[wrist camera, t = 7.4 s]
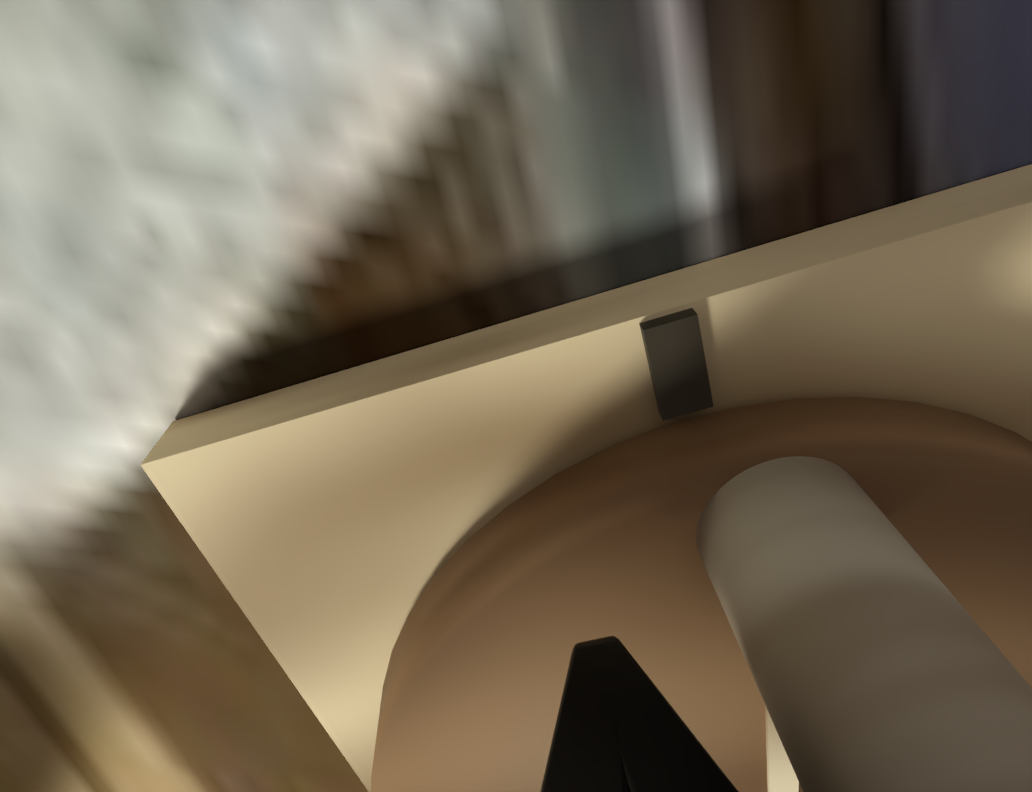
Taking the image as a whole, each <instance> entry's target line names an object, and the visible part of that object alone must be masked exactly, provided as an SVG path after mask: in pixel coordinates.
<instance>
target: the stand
mask: <svg viewBox="0 0 1032 792" xmlns="http://www.w3.org/2000/svg"><path fill="white" fill-rule="evenodd" d="M837 397H865V398H876V399H887V400H898V401H909V402H918V403H922V404H927V405H931V406H936V407H940V408H944V409H949V410H953V411H957V412H962V413H966V414H970V415H973V416H975V417H978V418H980V419H983V420H985V421H988V422H991V423H993V424H996V425H998V426H1001V427H1003V428H1006V429H1008V430H1011V431H1013V432H1016V433H1018V434H1019V435H1021V436H1023V437H1024V438H1026V439H1027V440H1029V441H1031V442H1032V164H1030V165H1027V166H1023V167H1020V168H1017V169H1013V170H1010V171H1007V172H1003V173H1000V174H997V175H993V176H990V177H986V178H983V179H980V180H976V181H973V182H970V183H966V184H963V185H960V186H956V187H953V188H950V189H946V190H943V191H940V192H936V193H933V194H930V195H926V196H923V197H920V198H916V199H913V200H910V201H906V202H903V203H900V204H896V205H893V206H890V207H886V208H883V209H880V210H876V211H873V212H870V213H866V214H863V215H860V216H856V217H853V218H850V219H846V220H843V221H840V222H836V223H833V224H830V225H826V226H823V227H820V228H816V229H813V230H810V231H806V232H803V233H800V234H796V235H793V236H790V237H786V238H783V239H780V240H776V241H773V242H770V243H766V244H763V245H760V246H756V247H753V248H750V249H746V250H743V251H740V252H736V253H733V254H730V255H726V256H723V257H720V258H716V259H713V260H710V261H706V262H703V263H700V264H696V265H693V266H690V267H686V268H683V269H680V270H676V271H673V272H670V273H666V274H663V275H660V276H656V277H653V278H650V279H646V280H643V281H640V282H636V283H633V284H630V285H626V286H623V287H620V288H616V289H613V290H610V291H606V292H603V293H600V294H596V295H593V296H590V297H586V298H583V299H580V300H576V301H573V302H570V303H566V304H563V305H560V306H556V307H553V308H550V309H546V310H543V311H540V312H536V313H533V314H530V315H526V316H523V317H520V318H516V319H513V320H510V321H506V322H503V323H500V324H496V325H493V326H490V327H486V328H483V329H480V330H476V331H473V332H470V333H466V334H463V335H460V336H456V337H453V338H450V339H446V340H443V341H440V342H436V343H433V344H430V345H426V346H423V347H420V348H416V349H413V350H410V351H406V352H403V353H400V354H396V355H393V356H390V357H386V358H383V359H380V360H376V361H373V362H370V363H366V364H363V365H360V366H356V367H353V368H350V369H346V370H343V371H340V372H336V373H333V374H329V375H326V376H323V377H319V378H316V379H313V380H309V381H306V382H303V383H299V384H296V385H293V386H289V387H286V388H283V389H279V390H276V391H273V392H269V393H266V394H263V395H259V396H256V397H253V398H249V399H246V400H243V401H239V402H236V403H233V404H229V405H226V406H223V407H219V408H216V409H213V410H209V411H206V412H203V413H199V414H196V415H193V416H189V417H186V418H183V419H179V420H176V421H173V422H172V423H171V425H170V426H169V427H168V429H167V430H166V431H165V433H164V434H163V435H162V437H161V438H160V439H159V441H158V442H157V443H156V445H155V446H154V447H153V449H152V450H151V451H150V453H149V454H148V455H147V457H146V458H145V459H144V461H143V462H142V463H141V466H142V468H143V469H144V471H145V472H146V474H147V475H148V476H149V478H150V479H151V481H152V482H153V484H154V485H155V486H156V488H157V489H158V491H159V492H160V494H161V495H162V496H163V498H164V499H165V501H166V502H167V504H168V505H169V506H170V508H171V509H172V511H173V512H174V514H175V515H176V516H177V518H178V519H179V521H180V522H181V524H182V525H183V526H184V528H185V529H186V531H187V532H188V534H189V535H190V536H191V538H192V539H193V541H194V542H195V544H196V545H197V547H198V548H199V549H200V551H201V552H202V554H203V555H204V557H205V558H206V559H207V561H208V562H209V564H210V565H211V567H212V568H213V569H214V571H215V572H216V574H217V575H218V577H219V578H220V579H221V581H222V582H223V584H224V585H225V587H226V588H227V589H228V591H229V592H230V594H231V595H232V597H233V598H234V599H235V601H236V602H237V604H238V605H239V607H240V608H241V609H242V611H243V612H244V614H245V615H246V617H247V618H248V620H249V621H250V622H251V624H252V625H253V627H254V628H255V630H256V631H257V632H258V634H259V635H260V637H261V638H262V640H263V641H264V642H265V644H266V645H267V647H268V648H269V650H270V651H271V652H272V654H273V655H274V657H275V658H276V660H277V661H278V662H279V664H280V665H281V667H282V668H283V670H284V671H285V672H286V674H287V675H288V677H289V678H290V680H291V681H292V682H293V684H294V685H295V687H296V688H297V690H298V691H299V693H300V694H301V695H302V697H303V698H304V700H305V701H306V703H307V704H308V705H309V707H310V708H311V710H312V711H313V713H314V714H315V715H316V717H317V718H318V720H319V721H320V723H321V724H322V725H323V727H324V728H325V730H326V731H327V733H328V734H329V735H330V737H331V738H332V740H333V741H334V743H335V744H336V745H337V747H338V748H339V750H340V751H341V753H342V754H343V755H344V757H345V758H346V760H347V761H348V763H349V764H350V765H351V767H352V768H353V770H354V771H355V773H356V774H357V776H358V777H359V778H360V780H361V781H362V783H363V784H364V786H365V787H366V788H367V790H368V791H369V792H371V774H372V766H373V759H374V751H375V744H376V736H377V728H378V721H379V713H380V705H381V698H382V690H383V684H384V680H385V676H386V672H387V668H388V664H389V660H390V656H391V652H392V649H393V647H394V645H395V643H396V641H397V638H398V636H399V634H400V632H401V630H402V627H403V625H404V623H405V621H406V619H407V616H408V614H409V613H410V611H411V610H412V608H413V607H414V605H415V604H416V602H417V601H418V599H419V598H420V596H421V595H422V593H423V592H424V590H425V589H426V587H427V586H428V584H429V583H430V581H431V580H432V578H433V577H434V576H435V575H436V574H437V573H438V571H439V570H440V569H441V568H442V567H443V566H444V565H445V564H446V563H447V562H448V560H449V559H450V558H451V557H452V556H453V555H454V554H455V553H456V552H457V551H458V549H459V548H460V547H461V546H462V545H463V544H464V543H465V542H466V541H467V540H468V539H469V538H470V537H471V536H473V535H474V534H475V533H476V532H477V531H478V530H480V529H481V528H482V527H483V526H484V525H486V524H487V523H488V522H489V521H490V520H491V519H493V518H494V517H495V516H496V515H497V514H499V513H500V512H501V511H502V510H503V509H504V508H506V507H507V506H508V505H510V504H511V503H513V502H514V501H516V500H517V499H519V498H520V497H522V496H523V495H525V494H526V493H528V492H530V491H531V490H533V489H534V488H536V487H537V486H539V485H540V484H542V483H543V482H545V481H546V480H548V479H549V478H551V477H552V476H554V475H555V474H557V473H559V472H561V471H563V470H565V469H567V468H569V467H571V466H573V465H575V464H577V463H579V462H581V461H583V460H585V459H587V458H589V457H591V456H593V455H595V454H597V453H599V452H601V451H603V450H605V449H607V448H609V447H611V446H613V445H616V444H619V443H621V442H624V441H627V440H629V439H632V438H635V437H637V436H640V435H643V434H645V433H648V432H651V431H653V430H656V429H659V428H661V427H664V426H667V425H669V424H673V423H677V422H680V421H684V420H688V419H692V418H696V417H700V416H704V415H708V414H711V413H715V412H719V411H723V410H727V409H731V408H736V407H743V406H750V405H757V404H764V403H771V402H777V401H784V400H791V399H806V398H837Z"/></svg>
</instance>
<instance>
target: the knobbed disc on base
mask: <svg viewBox="0 0 1032 792" xmlns="http://www.w3.org/2000/svg"><path fill="white" fill-rule="evenodd" d="M608 636H615V637H617V638H618V639H619V640H620V641H621V642H622V644H623V645H624V646H625V647H626V649H627V650H628V651H629V653H630V654H631V655H632V656H633V658H634V659H635V660H636V661H637V663H638V664H639V665H640V667H641V668H642V669H643V670H644V672H645V673H646V674H647V675H648V677H649V678H650V679H651V681H652V682H653V683H654V684H655V686H656V687H657V688H658V689H659V691H660V692H661V693H662V695H663V696H664V697H665V698H666V700H667V701H668V702H669V703H670V705H671V706H672V707H673V709H674V710H675V711H676V712H677V714H678V715H679V716H680V718H681V719H682V720H683V721H684V723H685V724H686V725H687V726H688V728H689V729H690V730H691V732H692V733H693V734H694V735H695V737H696V738H697V739H698V740H699V742H700V743H701V744H702V746H703V747H704V748H705V749H706V751H707V752H708V753H709V754H710V756H711V757H712V758H713V760H714V761H715V762H716V763H717V765H718V766H719V767H720V768H721V770H722V771H723V772H724V774H725V775H726V776H727V777H728V779H729V780H730V781H731V782H732V784H733V785H734V786H735V788H736V789H737V790H738V791H739V792H1032V442H1031V441H1029V440H1027V439H1026V438H1024V437H1023V436H1021V435H1019V434H1018V433H1016V432H1013V431H1011V430H1008V429H1006V428H1003V427H1001V426H998V425H996V424H993V423H991V422H988V421H985V420H983V419H980V418H978V417H975V416H973V415H970V414H966V413H962V412H957V411H953V410H949V409H944V408H940V407H936V406H931V405H927V404H922V403H918V402H909V401H898V400H887V399H876V398H865V397H837V398H806V399H791V400H784V401H777V402H771V403H764V404H757V405H750V406H743V407H736V408H731V409H727V410H723V411H719V412H715V413H711V414H708V415H704V416H700V417H696V418H692V419H688V420H684V421H680V422H677V423H673V424H669V425H667V426H664V427H661V428H659V429H656V430H653V431H651V432H648V433H645V434H643V435H640V436H637V437H635V438H632V439H629V440H627V441H624V442H621V443H619V444H616V445H613V446H611V447H609V448H607V449H605V450H603V451H601V452H599V453H597V454H595V455H593V456H591V457H589V458H587V459H585V460H583V461H581V462H579V463H577V464H575V465H573V466H571V467H569V468H567V469H565V470H563V471H561V472H559V473H557V474H555V475H554V476H552V477H551V478H549V479H548V480H546V481H545V482H543V483H542V484H540V485H539V486H537V487H536V488H534V489H533V490H531V491H530V492H528V493H526V494H525V495H523V496H522V497H520V498H519V499H517V500H516V501H514V502H513V503H511V504H510V505H508V506H507V507H506V508H504V509H503V510H502V511H501V512H500V513H499V514H497V515H496V516H495V517H494V518H493V519H491V520H490V521H489V522H488V523H487V524H486V525H484V526H483V527H482V528H481V529H480V530H478V531H477V532H476V533H475V534H474V535H473V536H471V537H470V538H469V539H468V540H467V541H466V542H465V543H464V544H463V545H462V546H461V547H460V548H459V549H458V551H457V552H456V553H455V554H454V555H453V556H452V557H451V558H450V559H449V560H448V562H447V563H446V564H445V565H444V566H443V567H442V568H441V569H440V570H439V571H438V573H437V574H436V575H435V576H434V577H433V578H432V580H431V581H430V583H429V584H428V586H427V587H426V589H425V590H424V592H423V593H422V595H421V596H420V598H419V599H418V601H417V602H416V604H415V605H414V607H413V608H412V610H411V611H410V613H409V614H408V616H407V619H406V621H405V623H404V625H403V627H402V630H401V632H400V634H399V636H398V638H397V641H396V643H395V645H394V647H393V649H392V652H391V656H390V660H389V664H388V668H387V672H386V676H385V680H384V684H383V690H382V698H381V705H380V713H379V721H378V728H377V736H376V744H375V751H374V759H373V766H372V774H371V792H540V791H541V786H542V782H543V777H544V773H545V769H546V764H547V760H548V755H549V751H550V747H551V742H552V738H553V733H554V729H555V724H556V720H557V716H558V711H559V707H560V702H561V698H562V693H563V689H564V685H565V680H566V676H567V671H568V667H569V662H570V658H571V654H572V650H573V647H574V645H575V644H577V643H579V642H584V641H589V640H593V639H598V638H603V637H608Z"/></svg>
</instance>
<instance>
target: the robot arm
mask: <svg viewBox="0 0 1032 792" xmlns="http://www.w3.org/2000/svg"><path fill="white" fill-rule="evenodd" d="M540 792H739V791H738V790H737V789H736V788H735V786H734V785H733V784H732V782H731V781H730V780H729V779H728V777H727V776H726V775H725V774H724V772H723V771H722V770H721V768H720V767H719V766H718V765H717V763H716V762H715V761H714V760H713V758H712V757H711V756H710V754H709V753H708V752H707V751H706V749H705V748H704V747H703V746H702V744H701V743H700V742H699V740H698V739H697V738H696V737H695V735H694V734H693V733H692V732H691V730H690V729H689V728H688V726H687V725H686V724H685V723H684V721H683V720H682V719H681V718H680V716H679V715H678V714H677V712H676V711H675V710H674V709H673V707H672V706H671V705H670V703H669V702H668V701H667V700H666V698H665V697H664V696H663V695H662V693H661V692H660V691H659V689H658V688H657V687H656V686H655V684H654V683H653V682H652V681H651V679H650V678H649V677H648V675H647V674H646V673H645V672H644V670H643V669H642V668H641V667H640V665H639V664H638V663H637V661H636V660H635V659H634V658H633V656H632V655H631V654H630V653H629V651H628V650H627V649H626V647H625V646H624V645H623V644H622V642H621V641H620V640H619V639H618V638H617V637H615V636H608V637H603V638H598V639H593V640H589V641H584V642H579V643H577V644H575V645H574V647H573V650H572V654H571V658H570V662H569V667H568V671H567V676H566V680H565V685H564V689H563V693H562V698H561V702H560V707H559V711H558V716H557V720H556V724H555V729H554V733H553V738H552V742H551V747H550V751H549V755H548V760H547V764H546V769H545V773H544V777H543V782H542V786H541V791H540Z"/></svg>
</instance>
